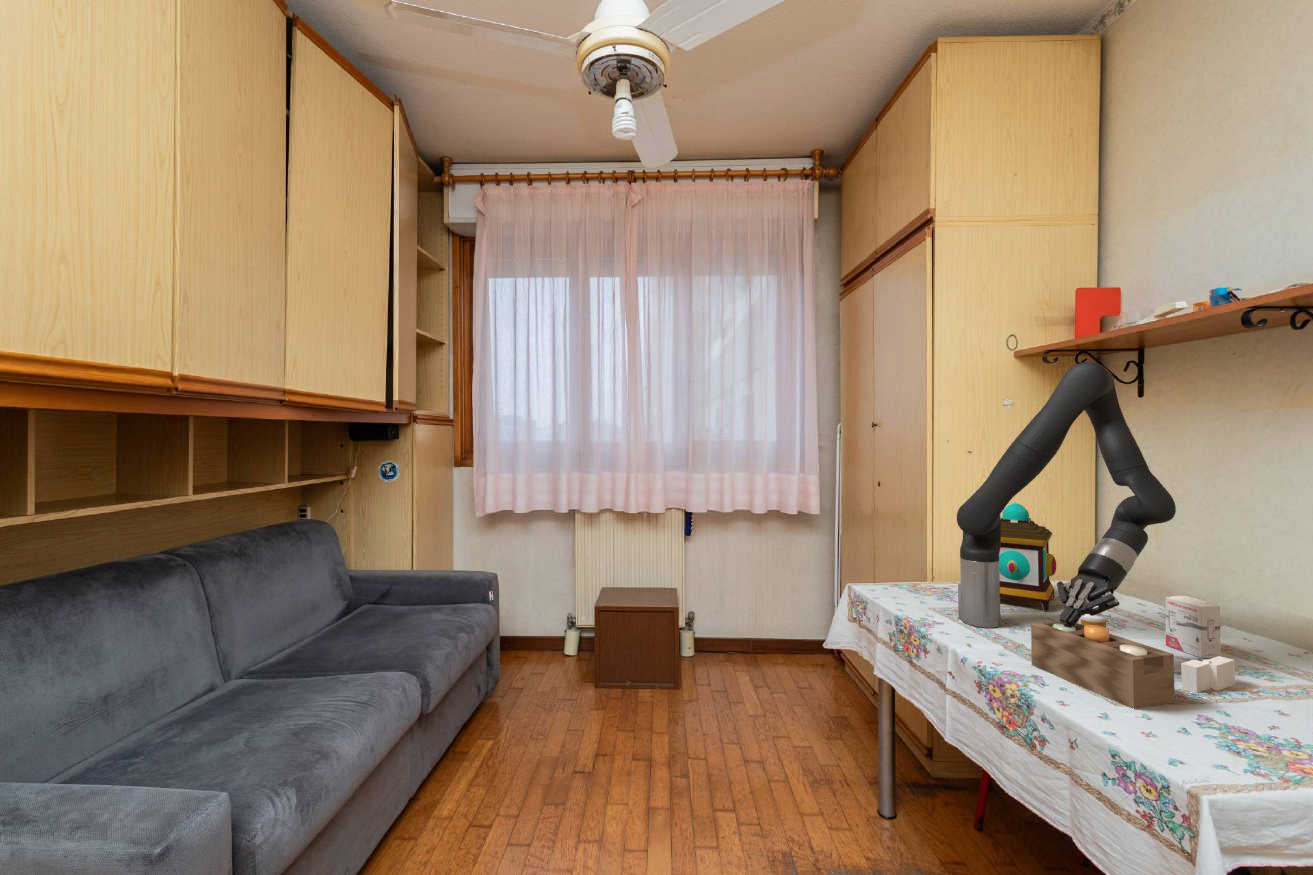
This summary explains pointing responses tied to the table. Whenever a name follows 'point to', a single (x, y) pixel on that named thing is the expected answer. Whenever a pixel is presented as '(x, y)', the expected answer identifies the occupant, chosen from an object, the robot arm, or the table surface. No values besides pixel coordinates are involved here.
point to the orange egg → (1096, 633)
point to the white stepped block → (1208, 674)
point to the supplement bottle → (1093, 619)
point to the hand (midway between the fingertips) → (1064, 624)
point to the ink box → (1193, 626)
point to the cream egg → (1133, 650)
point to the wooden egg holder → (1104, 665)
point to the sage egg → (1064, 627)
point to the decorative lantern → (1025, 557)
